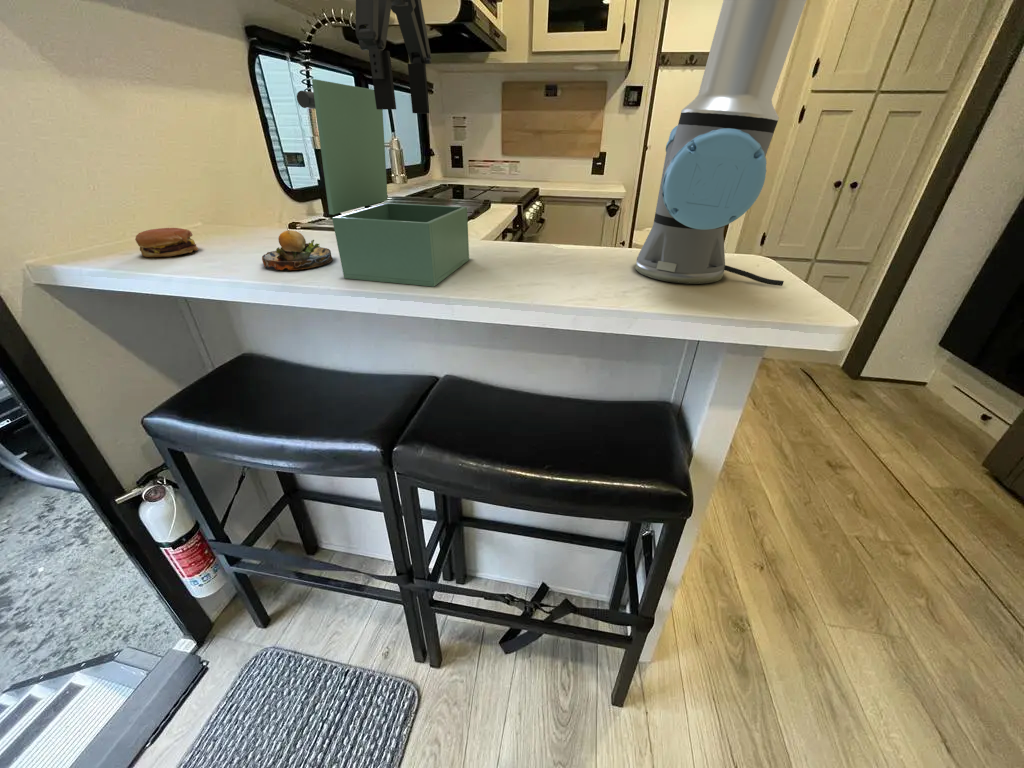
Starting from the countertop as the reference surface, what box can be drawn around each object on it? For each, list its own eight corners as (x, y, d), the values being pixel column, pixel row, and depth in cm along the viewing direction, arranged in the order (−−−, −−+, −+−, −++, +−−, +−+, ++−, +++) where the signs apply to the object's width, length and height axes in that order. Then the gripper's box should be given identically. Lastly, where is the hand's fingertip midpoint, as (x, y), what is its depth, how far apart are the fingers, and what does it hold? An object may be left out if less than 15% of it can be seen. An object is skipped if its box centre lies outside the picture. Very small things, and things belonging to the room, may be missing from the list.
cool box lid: (381, 91, 71) (339, 86, 72) (316, 79, 56) (265, 73, 57) (387, 200, 80) (350, 194, 81) (333, 214, 65) (288, 207, 67)
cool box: (469, 259, 82) (467, 206, 77) (434, 286, 67) (428, 223, 62) (393, 253, 85) (386, 202, 80) (344, 278, 71) (331, 217, 66)
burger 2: (343, 256, 83) (335, 216, 79) (313, 272, 73) (303, 228, 69) (286, 254, 84) (276, 214, 80) (249, 270, 74) (235, 226, 70)
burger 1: (136, 252, 83) (126, 228, 81) (190, 245, 89) (182, 222, 87) (148, 262, 78) (137, 236, 75) (205, 254, 84) (196, 229, 81)
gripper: (398, -57, 63) (415, 114, 74) (294, -144, 43) (339, 107, 55) (444, -62, 61) (454, 114, 73) (358, -154, 42) (390, 106, 53)
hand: (405, 111), depth 64 cm, fingers open, 11 cm apart
